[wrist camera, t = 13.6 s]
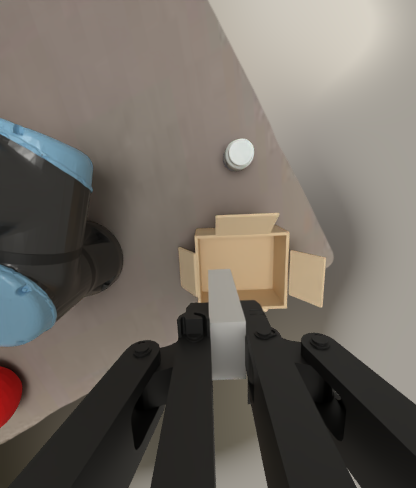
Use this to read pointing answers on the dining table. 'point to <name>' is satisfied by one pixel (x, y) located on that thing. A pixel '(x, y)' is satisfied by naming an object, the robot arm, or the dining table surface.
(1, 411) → the tomato
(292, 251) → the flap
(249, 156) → the pill bottle
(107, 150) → the dining table surface
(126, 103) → the dining table surface
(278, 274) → the carton
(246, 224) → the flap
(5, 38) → the dining table surface
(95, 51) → the dining table surface
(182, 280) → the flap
